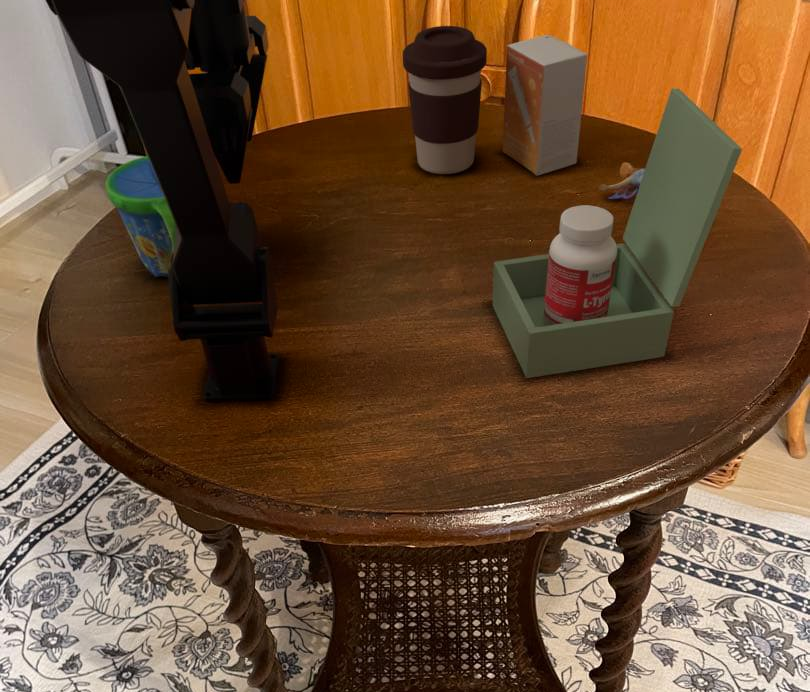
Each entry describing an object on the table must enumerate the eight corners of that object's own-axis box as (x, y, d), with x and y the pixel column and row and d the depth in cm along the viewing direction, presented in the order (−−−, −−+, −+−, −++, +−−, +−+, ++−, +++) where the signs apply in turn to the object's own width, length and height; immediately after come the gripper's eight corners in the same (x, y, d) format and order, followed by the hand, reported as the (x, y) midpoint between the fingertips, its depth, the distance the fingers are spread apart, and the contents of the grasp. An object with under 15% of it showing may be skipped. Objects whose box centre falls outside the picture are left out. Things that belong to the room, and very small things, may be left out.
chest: (526, 378, 81) (529, 333, 77) (492, 305, 89) (493, 261, 85) (664, 357, 82) (674, 311, 78) (618, 286, 90) (625, 242, 87)
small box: (501, 153, 112) (505, 44, 103) (541, 141, 114) (549, 32, 104) (536, 177, 107) (543, 64, 98) (578, 164, 109) (589, 52, 100)
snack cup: (236, 289, 93) (217, 199, 86) (139, 309, 92) (110, 219, 84) (214, 222, 103) (195, 136, 96) (126, 239, 102) (99, 153, 94)
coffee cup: (404, 149, 114) (399, 23, 103) (479, 143, 115) (481, 17, 103) (410, 183, 108) (404, 53, 97) (489, 177, 108) (492, 47, 97)
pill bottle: (583, 349, 82) (597, 242, 74) (530, 327, 85) (538, 221, 77) (618, 319, 85) (635, 213, 77) (565, 298, 88) (576, 194, 80)
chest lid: (733, 148, 68) (742, 148, 68) (671, 87, 76) (679, 88, 76) (671, 307, 78) (679, 307, 78) (622, 238, 86) (629, 238, 86)
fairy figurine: (662, 213, 93) (588, 162, 99) (651, 252, 97) (581, 200, 103) (736, 182, 97) (661, 135, 103) (723, 220, 101) (651, 172, 107)
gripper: (135, -48, 80) (176, 125, 91) (85, 21, 67) (140, 211, 79) (254, -55, 79) (280, 120, 91) (227, 14, 67) (261, 205, 79)
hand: (240, 161), depth 85 cm, fingers open, 9 cm apart
